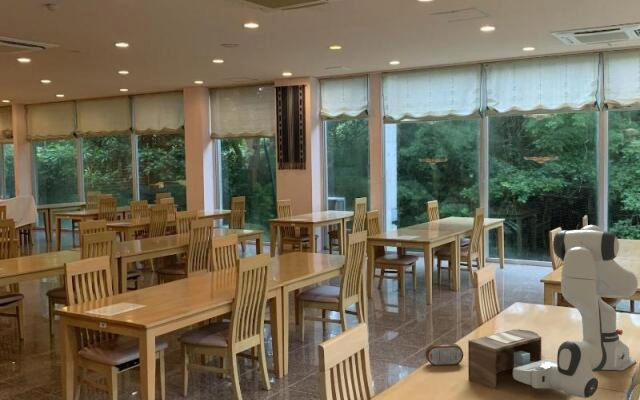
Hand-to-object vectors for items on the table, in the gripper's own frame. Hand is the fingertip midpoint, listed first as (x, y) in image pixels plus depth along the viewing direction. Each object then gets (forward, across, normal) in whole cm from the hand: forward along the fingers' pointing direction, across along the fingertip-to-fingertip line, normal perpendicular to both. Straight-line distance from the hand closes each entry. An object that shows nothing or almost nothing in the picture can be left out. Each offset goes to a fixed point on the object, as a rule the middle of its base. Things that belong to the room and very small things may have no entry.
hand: (519, 364), depth 234 cm
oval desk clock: (+31, +8, +7) cm, 33 cm away
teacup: (+24, -32, +7) cm, 41 cm away
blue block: (-1, 0, +6) cm, 6 cm away
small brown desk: (+7, 0, +7) cm, 10 cm away
